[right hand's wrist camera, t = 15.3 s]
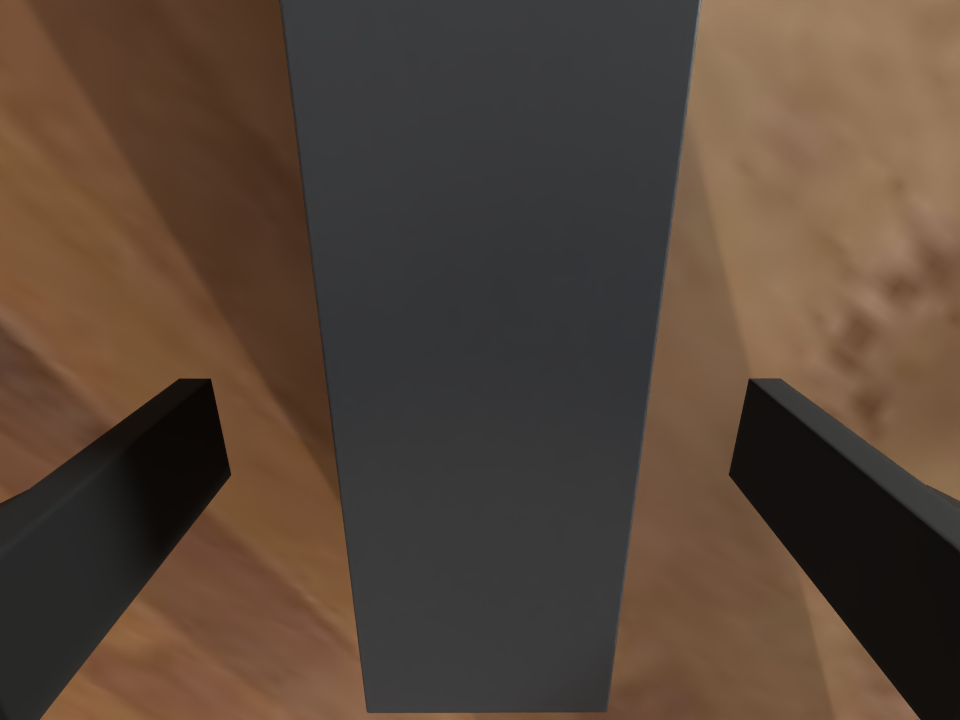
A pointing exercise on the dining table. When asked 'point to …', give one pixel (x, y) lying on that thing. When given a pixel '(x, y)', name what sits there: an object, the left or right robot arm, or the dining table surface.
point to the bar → (488, 323)
